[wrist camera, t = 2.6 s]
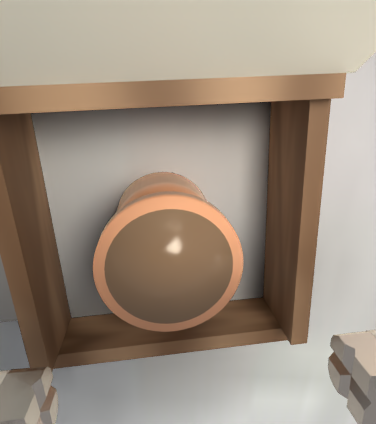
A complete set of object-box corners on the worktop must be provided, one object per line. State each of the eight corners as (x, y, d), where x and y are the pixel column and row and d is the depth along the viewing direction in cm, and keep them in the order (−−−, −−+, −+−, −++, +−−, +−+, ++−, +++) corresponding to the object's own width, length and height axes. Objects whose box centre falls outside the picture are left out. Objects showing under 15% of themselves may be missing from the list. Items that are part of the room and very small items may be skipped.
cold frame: (58, 331, 23) (30, 406, 17) (7, 92, 18) (-59, 89, 12) (275, 307, 25) (313, 368, 19) (288, 80, 19) (346, 72, 14)
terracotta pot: (116, 267, 22) (103, 340, 15) (103, 169, 20) (81, 204, 13) (214, 258, 23) (242, 323, 16) (213, 162, 20) (244, 192, 14)
